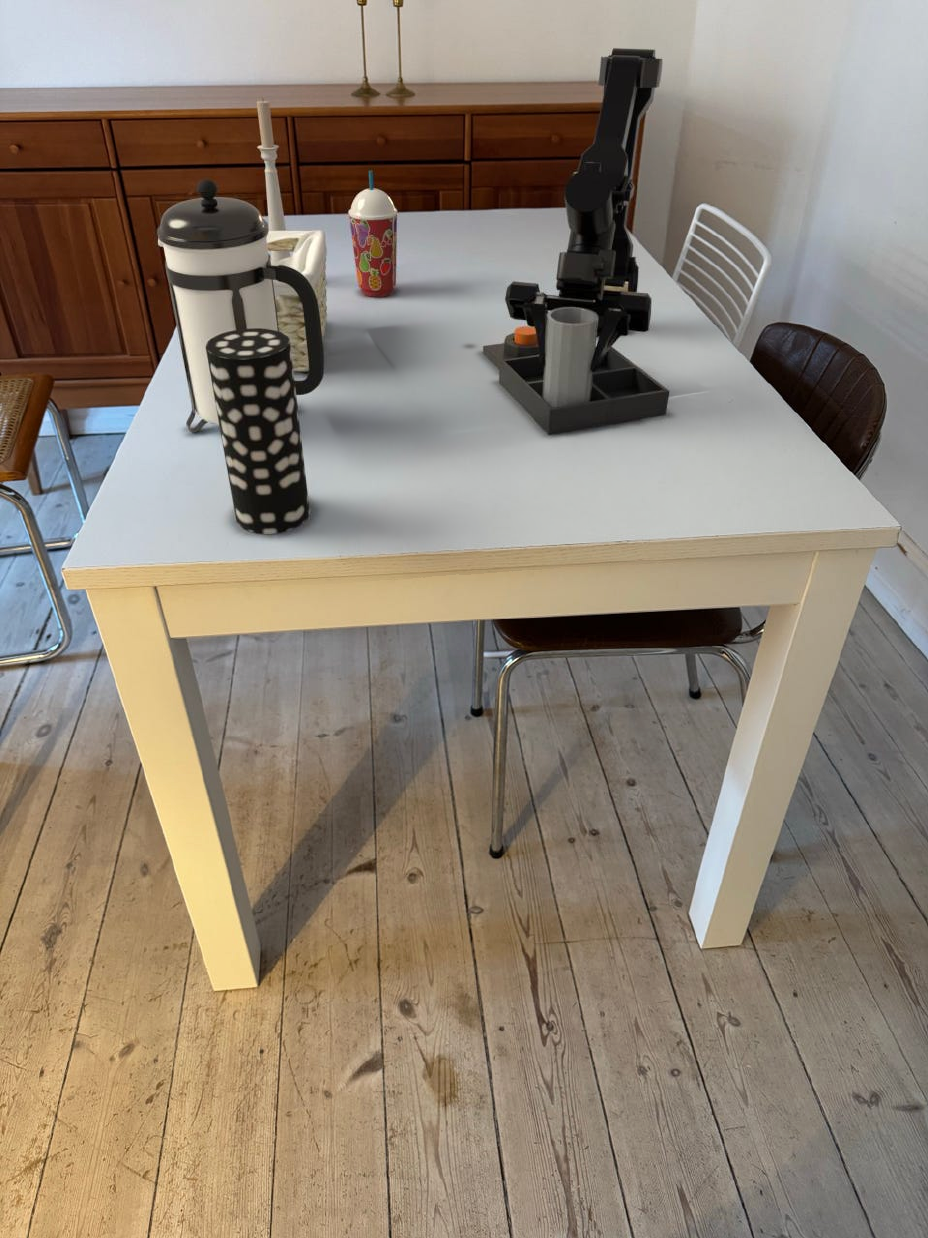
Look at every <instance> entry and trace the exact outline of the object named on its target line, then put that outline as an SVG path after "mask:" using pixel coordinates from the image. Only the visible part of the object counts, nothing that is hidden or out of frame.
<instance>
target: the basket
mask: <svg viewBox="0 0 928 1238" xmlns="http://www.w3.org/2000/svg"><path fill="white" fill-rule="evenodd" d="M267 247H268V252H271V251H289V252H290V253H293V254H292V255H290V256H291V257H288V258H286V259H283V260H280V261H278V262H275V263H272V262H271V265H272V266H278V265H284V266H288V267H290V268H293V269H295V270H297V271H298V272H300V273H301V274H302V275H303V276H304V277H305V278H306V279H307V280H308V281H309V283H310V284H311V286H312V288H313V290H314V292H315V295H316V298H317V302H318V306H319V313H320V321H321V331H322V341H323V342H324V337H325V336H326V335H325V333H326V332H325V331H326V328H327V325H328V312H327V311H328V305H327V300H328V297H327V281H326V276H327V274H326V273H327V272H326V270H327V264H326V263H327V254H328V248H327V242H326V233H325V231H323V230H317V229H315V230H286V231H269V232H268V235H267ZM273 287H274V295H275V303H276V311H277V319H278V327H279V332H281V333H284V334H285V335H287V336H288V338H289V339H290V347H291V356H292V364H293V373H294V372H309V361H308V351H307V342H306V332H305V323H304V314H303V307H302V303H301V300H300V298H299V296H298V294H297V293H296V291H295V290H294V289H293V288H292V287H291V286H290V285H288V284H286V283H283V282H278V280H273Z"/></svg>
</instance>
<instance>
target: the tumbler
mask: <svg viewBox="0 0 928 1238" xmlns="http://www.w3.org/2000/svg"><path fill="white" fill-rule="evenodd" d="M597 327H598V315H597V314H596V313H595V312H593V311H591V310H588V309H584V308H578V307H562V308H557V309H554V310H552V311H548V314H547V324H546V342H545V359H544V376H543V394H542V398H543V399H544V400H545V401H546V402H547V403H548V404H549V405H550V406H551V407H552V408H554V407H560V406H566V405H573V404H579V403H585V402H591V392H592V381H593V372H592V371H591V367H592V361H593V356H594V353H595V348H596V346H597V337H598V336H597Z"/></svg>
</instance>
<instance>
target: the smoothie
mask: <svg viewBox="0 0 928 1238" xmlns="http://www.w3.org/2000/svg"><path fill="white" fill-rule="evenodd" d="M373 172H374V171H373V170H368V180H369V182H368V184H369V188H366V189H362V190H361V191H360V192H359V193H357V194H356V196H355V197H354V199H353V201H352V203H351V206H350V209H348V216H349V217H348V218H349V225H350V226H349V227H350V234H351V241H352V247H353V248H352V249H353V256H354V264H355V271H356V278H357V279H356V280H357V286H358V287H359V288H360V291H361V293H362V295H365V296H367V297H371V298H382V297H383V298H384V297H387V296H389V295H391V294H392V293H394V287H396V285H397V253H398V252H397V249H398V248H397V247H398V246H397V243H398V209H397V207H395V204H394V202H393V200H392V199H391V197H390V196H389V195H388V194H387V192H385V191H383V190H381V189H378V188H376V187H374V174H373Z"/></svg>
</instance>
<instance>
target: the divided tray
mask: <svg viewBox="0 0 928 1238" xmlns="http://www.w3.org/2000/svg"><path fill="white" fill-rule="evenodd" d="M595 349H596V348H595ZM498 371H499V372H498V384H499V385H500V386H501V387H502V388H503V389H504V390H505V391H506V392H507V393H508V394H509V395H510V396H511V397H512V398H513V399H514V400H515V401H516V402H517V403H518V405H520V406H521V408H522V409H524V410H525V412H526V413H527V414H529V415H530V417H531V418H532V419H533V420H534V421H535V423H536V424H537V425H538V426H539V427H540V428H541V429H542V430H543V431H544V432H545V433H546V434H547V435H554V434H560V433H567V432H573V431H577V430H584V429H591V428H597V427H603V426H609V425H614V424H621V423H627V422H632V421H639V420H644V419H650V418H657V417H662V416H667V412H668V411H667V410H668V403H669V399H670V398H669V397H670V390H669V389H668V388H667V387H665V386H664V385H663V384H662V383H660V382H659V381H657V380H656V379H654V378H653V377H652V376H651V375H649V374H648V373H647V372H645V371H644V370H643V369H642V368H640V366H638V365H636V363H634V362H633V361H632V360H630V359H628V358H627V357H626V356H625V355H624V354H622V353H621V352H620V351H618V350H617V349H616V348H614V347H613V346H612V347H611V348H610V349H609V350H608V352H607V353H606V355H605V356H604V358H603V360H602V361H601V363H600V364H599V366H598V368H597V369H596V371H595V372H593V381H592V392H591V402H585V403H579V404H573V405H566V406H560V407H554V408H552V407H551V406H550V405H549V404H548V403H547V402H546V401H545V400H544V399H543V398H542V394H543V376H544V366H543V367H542V366H540V360H539V355H533V356H526V357H519V358H512V359H505V360H500V361H499V369H498Z"/></svg>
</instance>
